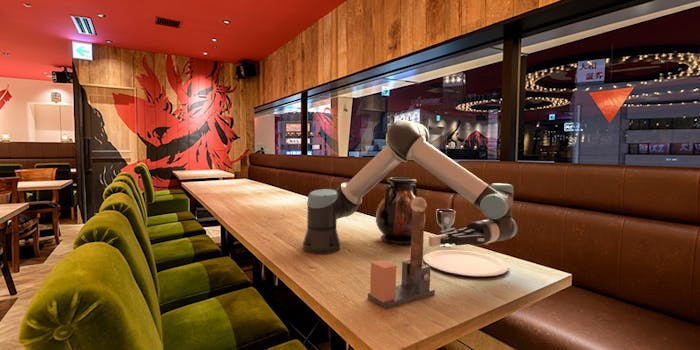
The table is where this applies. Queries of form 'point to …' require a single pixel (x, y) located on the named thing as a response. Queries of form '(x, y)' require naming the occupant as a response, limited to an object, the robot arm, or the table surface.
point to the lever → (417, 233)
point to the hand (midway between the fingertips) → (430, 241)
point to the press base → (409, 287)
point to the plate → (466, 263)
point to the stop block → (383, 280)
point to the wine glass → (445, 220)
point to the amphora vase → (397, 211)
